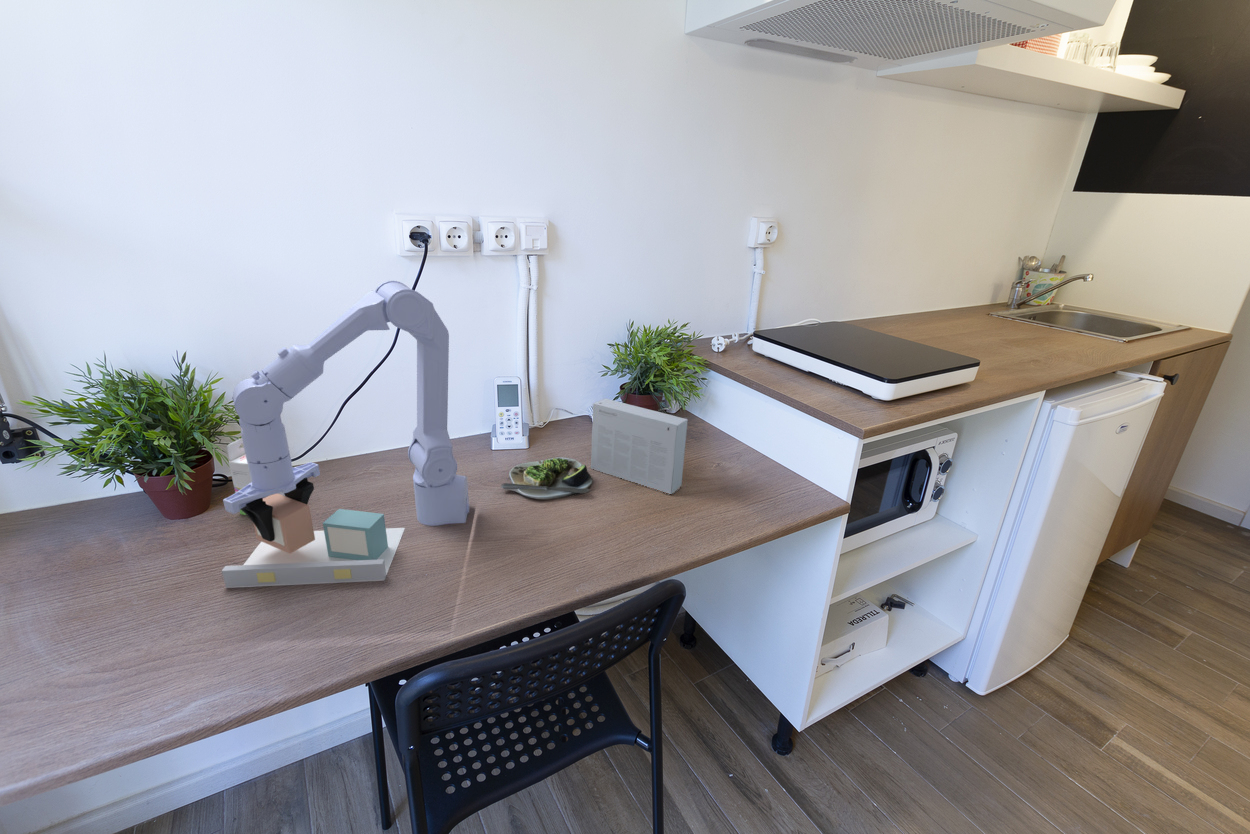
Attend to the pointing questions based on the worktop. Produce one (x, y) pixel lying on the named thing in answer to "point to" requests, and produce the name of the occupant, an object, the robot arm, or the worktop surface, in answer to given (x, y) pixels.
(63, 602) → the worktop surface
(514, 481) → the salad plate
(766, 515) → the worktop surface
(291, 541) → the terracotta carton
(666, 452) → the skincare box
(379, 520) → the teal carton
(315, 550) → the shelf board
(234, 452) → the ink box
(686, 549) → the worktop surface
